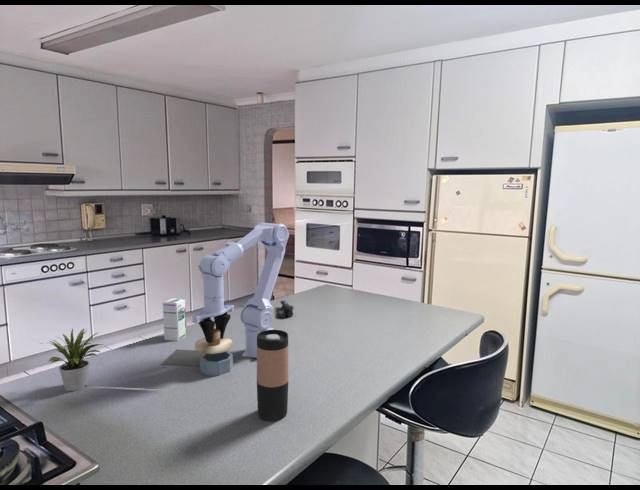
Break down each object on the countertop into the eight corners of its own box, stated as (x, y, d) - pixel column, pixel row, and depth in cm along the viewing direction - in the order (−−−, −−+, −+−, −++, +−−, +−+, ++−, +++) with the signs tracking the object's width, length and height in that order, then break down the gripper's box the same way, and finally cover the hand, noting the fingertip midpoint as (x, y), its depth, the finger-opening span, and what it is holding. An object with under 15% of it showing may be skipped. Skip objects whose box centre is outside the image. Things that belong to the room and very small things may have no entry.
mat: (211, 352, 136) (211, 350, 136) (198, 368, 124) (198, 366, 124) (176, 351, 137) (176, 349, 137) (160, 366, 125) (160, 364, 125)
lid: (236, 340, 128) (237, 325, 127) (226, 355, 117) (226, 339, 116) (202, 337, 128) (202, 322, 128) (188, 351, 118) (189, 336, 117)
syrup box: (178, 342, 145) (177, 302, 143) (163, 341, 146) (162, 301, 144) (187, 336, 150) (185, 298, 149) (172, 335, 152) (171, 297, 150)
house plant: (57, 408, 101) (52, 344, 99) (30, 392, 108) (25, 333, 106) (112, 385, 113) (109, 328, 111) (85, 373, 120) (81, 319, 118)
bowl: (235, 364, 127) (235, 350, 127) (227, 377, 118) (226, 363, 118) (207, 363, 128) (206, 349, 127) (196, 376, 119) (196, 361, 118)
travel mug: (257, 405, 103) (257, 329, 101) (288, 404, 104) (288, 329, 101) (255, 422, 96) (255, 340, 93) (288, 421, 97) (288, 340, 94)
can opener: (295, 319, 174) (295, 306, 173) (278, 319, 173) (278, 306, 172) (290, 307, 191) (290, 295, 191) (275, 307, 190) (275, 296, 189)
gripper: (222, 289, 129) (223, 330, 130) (184, 298, 117) (186, 344, 118) (238, 292, 125) (239, 335, 127) (201, 302, 113) (202, 350, 115)
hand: (214, 340), depth 122 cm, fingers closed on lid, 4 cm apart
